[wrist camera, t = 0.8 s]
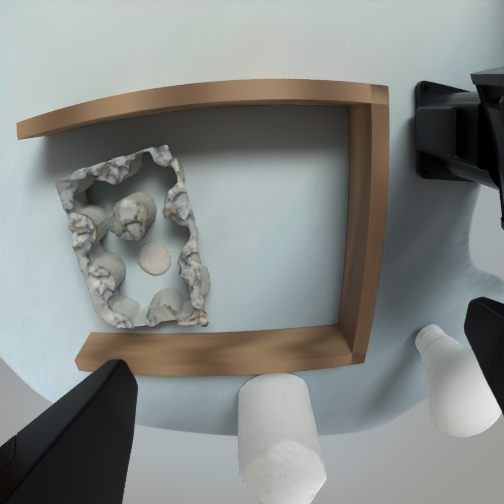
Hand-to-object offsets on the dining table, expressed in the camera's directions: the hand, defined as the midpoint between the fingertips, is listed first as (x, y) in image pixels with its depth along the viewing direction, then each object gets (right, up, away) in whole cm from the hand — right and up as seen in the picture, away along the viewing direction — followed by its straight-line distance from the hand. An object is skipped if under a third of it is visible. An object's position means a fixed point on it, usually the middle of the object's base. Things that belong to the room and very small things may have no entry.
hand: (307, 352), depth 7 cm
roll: (0, -10, +18) cm, 20 cm away
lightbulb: (+13, -4, +16) cm, 21 cm away
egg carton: (-8, +4, +13) cm, 15 cm away
